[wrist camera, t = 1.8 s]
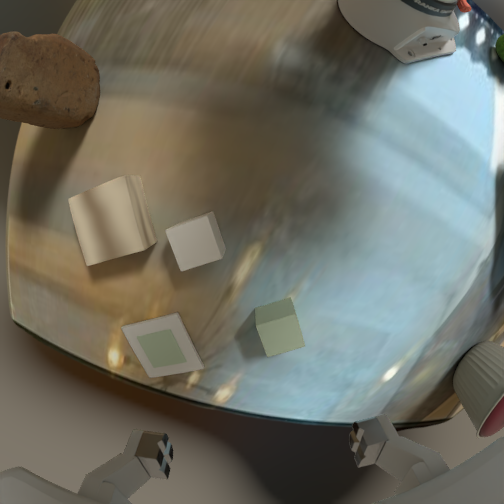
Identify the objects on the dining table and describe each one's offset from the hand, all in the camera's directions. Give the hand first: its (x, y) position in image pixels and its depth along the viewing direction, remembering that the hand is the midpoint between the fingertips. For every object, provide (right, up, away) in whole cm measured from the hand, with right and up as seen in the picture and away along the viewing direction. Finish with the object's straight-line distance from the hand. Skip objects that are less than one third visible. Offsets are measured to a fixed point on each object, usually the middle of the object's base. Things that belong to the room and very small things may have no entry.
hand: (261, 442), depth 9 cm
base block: (-18, +13, +24) cm, 33 cm away
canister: (+48, -17, +32) cm, 60 cm away
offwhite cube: (-7, +10, +25) cm, 28 cm away
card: (-14, -6, +29) cm, 33 cm away
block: (-25, +31, +20) cm, 44 cm away
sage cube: (+3, -1, +28) cm, 28 cm away
